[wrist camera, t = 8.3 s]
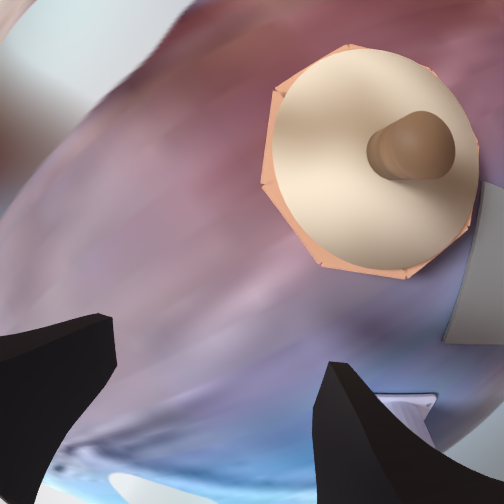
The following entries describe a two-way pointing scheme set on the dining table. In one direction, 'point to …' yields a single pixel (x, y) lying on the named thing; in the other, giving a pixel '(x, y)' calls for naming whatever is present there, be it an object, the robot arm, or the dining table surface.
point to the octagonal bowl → (277, 198)
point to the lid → (375, 159)
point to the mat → (482, 278)
